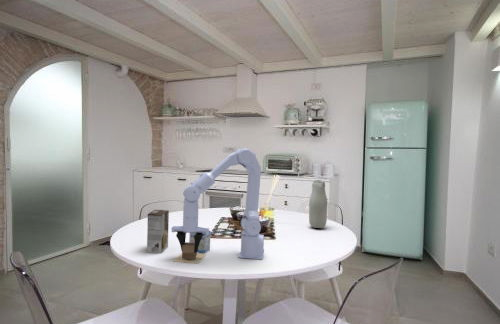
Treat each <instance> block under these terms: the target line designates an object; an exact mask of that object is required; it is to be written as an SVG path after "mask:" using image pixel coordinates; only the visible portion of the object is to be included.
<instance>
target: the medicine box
mask: <svg viewBox="0 0 500 324" xmlns="http://www.w3.org/2000/svg"><path fill="white" fill-rule="evenodd" d="M211 232H212V231H211V230H209V234H208V235H207V234H204V235H203V237H202V239H201V241H200V244H199V247H198V251H197V253H200V254H206V253H208V252H210V251H211V250H210V249H211ZM195 234H196V233H189V240H188V241H189V243H195V239H194V235H195Z"/></svg>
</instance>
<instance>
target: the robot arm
mask: <svg viewBox="0 0 500 324" xmlns="http://www.w3.org/2000/svg"><path fill="white" fill-rule="evenodd" d="M238 165H240V166H242V167H243V168H244V169H245V170H246V171H247V185H246V197H245V210H244V211H243V217H242V218H241V219H240V226H241V229H242V230H241V235H240V236H241V237H240V238H241V239H240V241H241V242H240V252H239V255H238V258H241V259H253V260H263V258H264V257H263V256H264V254H265V249H264V245H265V244H264V243H265V235H264V234H260V232H261V229H262V226H261V222H260V215H259V199H260V186H261V174H262V173H261V172H262V167H261V164H260V163H259V161H258V159H257V155H256V153H254V151H252V150H251V149H250V148H248V147H245V148H237V149H236V150H235V151H234V152H231V153H230V154H229V155H228V156H226V157H225V158H224V159H223V160H221V161H220V162H219V163H218V164H217V165H216V166H215V167H214V168H213V169H211V170H210V171H209V172H208V171H205V172H200V174H199V177H197V178H196V179H195V180H194V181H191V182H190V183H189V184H190V185H187V186H186V187H185V188H184V189H183V192H182V195H183V197H184V200H183V208H182V209H183V213H182V214H183V217H182V220H183V221H182V225H178V226H177V225H175V226H174V225H173V226H172V227H171V230H170V231H171V233H176V239H177V241H178V242H179V245H180V250H181V252H182V245H184V244H185V243H186V239H187V234H190V233H196V234H195V235H194V239H195V249H194V251H195V253H196V252H197V251H198V247H199V244H200V241H201V239H202V237H203V235H204V234H207V235H208V234H209V231H210V228H209V227H201V226H199V199H200V196H201V194H204V193H205V192H206V191H207V190H208V189H209V188H210V187H212V186H213V185H215V182H216V178H217V177H219V176H221V174H223V173H224V172H225V171H227V169H228V168H230V167H233V166H238ZM197 253H198V252H197Z"/></svg>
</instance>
